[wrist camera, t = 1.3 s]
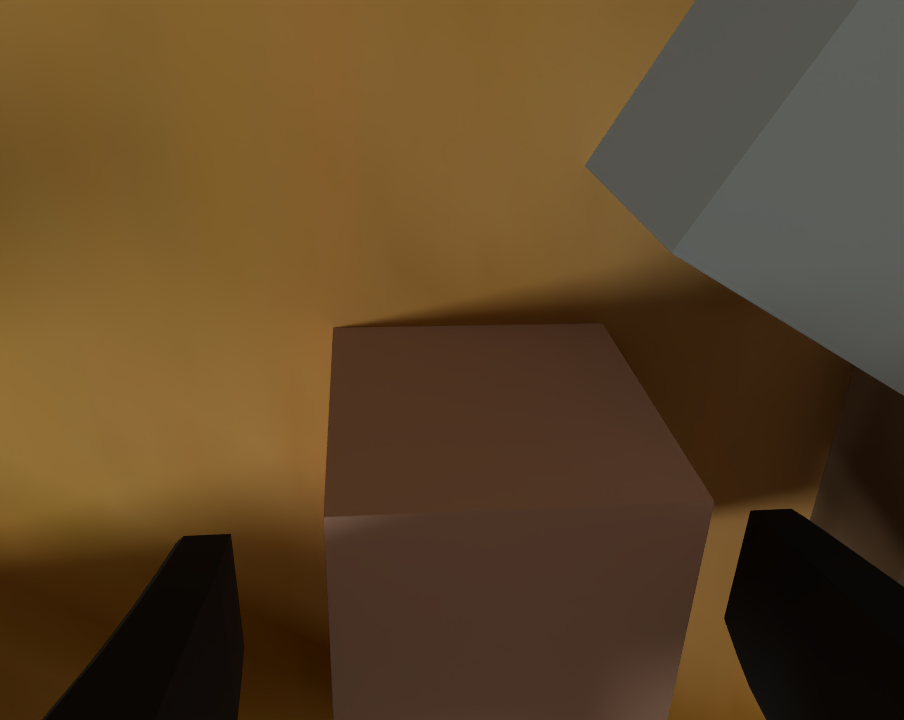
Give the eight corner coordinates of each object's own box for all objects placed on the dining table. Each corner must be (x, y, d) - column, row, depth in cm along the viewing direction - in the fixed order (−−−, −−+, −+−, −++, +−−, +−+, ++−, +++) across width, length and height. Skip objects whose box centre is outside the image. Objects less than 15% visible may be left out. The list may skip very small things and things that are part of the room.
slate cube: (771, 282, 14) (910, 400, 11) (583, 164, 13) (671, 253, 9) (941, 70, 13) (1168, 124, 9) (750, -86, 11) (928, -94, 8)
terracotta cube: (575, 532, 16) (658, 760, 12) (341, 542, 16) (336, 783, 11) (601, 321, 14) (714, 501, 10) (333, 325, 14) (322, 517, 9)
